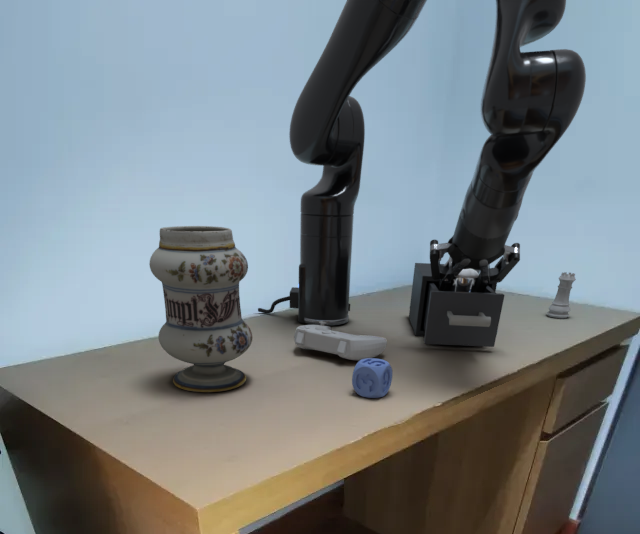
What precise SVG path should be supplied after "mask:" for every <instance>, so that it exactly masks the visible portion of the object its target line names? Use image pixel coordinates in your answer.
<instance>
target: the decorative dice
mask: <svg viewBox="0 0 640 534" xmlns="http://www.w3.org/2000/svg"><path fill="white" fill-rule="evenodd" d="M392 382H393V368H392V366H391V364H390V363H389V362H388V361H387V360H385V359H382V358H375V357H373V358H366V359H361V360H358V361H357V362H356V364H355V366H354V369H353V372H352V376H351V385H352V388H353V390H354V392H355V393H356V394H357V395H358V396H360V397H363V398H367V399H368V398H369V399H378V398H383V397H385V396H386V395H387V394H388V392H389V390H390V388H391V385H392Z"/></svg>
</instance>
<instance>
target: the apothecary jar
mask: <svg viewBox="0 0 640 534" xmlns="http://www.w3.org/2000/svg"><path fill="white" fill-rule="evenodd" d="M233 236H234V235H233V230H232V229H231V228H229V227H223V226H212V225H211V226H208V225H180V226H179V225H178V226H165V227H161V228H159V241H158V242H159V243H158V247H157V248H156V249H155V250H154V251H153V252H152V253H151V256H150V258H149V263H148V264H149V269H150V272H151V273H152V275H153V276H154V278H156V279H157V280H158V281H159V282H161V285H162V293H163V299H164V311H165V323H164V324H162V326H161V327H160V329H159V331H158V341H159V345H160V347H161V348H162V350H164V352H166V353H167V355H169V356H170V357H172V358H174V359H176V360H178V361H181V362H183V363H187V364H190V365H191V364H192V365H191V366H187V367H186V368H184V369H182V370H180V371H178V372H177V373H176V374H174V376H173V378H172V383H173V384H174V386H175V387H176V388H179V389H181V390H183V391H188V392H194V393H195V392H196V393H217V392H218V393H219V392H225V391H230V390H234V389H237V388H239V387H241V386H243V385H244V384H245V383H246V381H247V375H246V374H245V373H244V372H243V371H242V370H240V369H237V368H236V367H232V366H230V365H227V364H226V363H228V362H230V361H233V360H236V359H237V358H239V357H240V356H242V355H243V354H245V352H247V351H248V349H250V347H251V345H252V342H253V333H252V330H251V328H250V326H249V324H248V323H247V322H245V320H244V319H243V317H242V309H241V297H240V282H241V281H243V279H244V278H245V277H246V275H247V273H248V271H249V270H248V269H249V263H248V260H247V258H246V256H245V255H244V253H243V252H242V251H241V250H239V248H237V247H236V244H235V241H234V237H233Z"/></svg>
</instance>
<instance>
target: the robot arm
mask: <svg viewBox="0 0 640 534" xmlns="http://www.w3.org/2000/svg"><path fill="white" fill-rule="evenodd" d="M427 2H428V0H346V2H345V3H344V5H343V8H342V10H341V13H340V15H339V17H338V19H337V22H336V24H335V26H334V28H333V30H332V33H331V34H330V37H329V39H328V41H327V43H326V45H325V47H324V49H323V51H322V53H321V55H320V57H319V59H318V61H317V62H316V64H315V66H314V68H313V69H312V72H311V74H310V76H309V77H308V79H307V81H306V83H305V85H304V86H303V88H302V90H301V92H300V94H299V96H298V98H297V100H296V103H295V106H294V108H293V111H292V113H291V118H290V122H289V133H288V135H289V136H288V137H289V138H288V139H289V145H290V149H291V152H292V154H293V156H294V157H295V158H296V159H297V160H298V161H299V162H301V163H303V164H306V165H309V166H321V167H322V173H321V178H320V179H319V181H318V182H317V183H316V184H315V185H314V186H312V187H311V188H310V189H308V190H306V191H305V192H303V193H302V194H301V196H300V205H299V207H300V209H299V210H300V211H299V212H300V215H299V217H300V218H299V220H300V221H299V223H300V224H299V225H300V226H299V227H300V228H299V265H298V284H297V287H295V286H294V287H293V286H292V287H291V289H290V291H289V295H288V296H284V297H281V298H278V299H275V300H274V301H272V303H271V305H270V307H269V309H266V308H262V307H258V308H257V312H259V313H263V314H267V315H268V314H272V313H273V312H274V311H275V308H276V306H277V305H278V304H280V303H284V302H288V301H289V309H298V312H297V313H298V314H297V315H298V316H297V317H298V319H297V320H298V321H297V322H298V324H299V323H300V324H301V323H303V324H306V325H320V324H321V323H319V322H326V324H324V326H328V327H331V326H340V325H344V324H347V323H348V322H349V317H350V316H349V312H351V303H350V292H351V291H350V289H351V270H352V253H353V235H354V234H353V233H354V218H355V217H354V215H355V206H356V203H357V200H358V197H359V193H360V189H361V178H362V169H363V160H364V159H363V158H364V150H365V138H366V137H365V136H366V135H365V134H366V126H365V125H366V124H365V116H364V111H363V109H362V106H361V104H360V102H359V101H358V100H357V99H356V98H355V97H353V96H350V95H351V94H352V92H353V90H354V89H355V88H356V86H357V85H358V84H359V82H360V81H361V80H362V79H363V78H364V76H366V75H367V73H369V72H370V71H371V70H372V69H373V68H374V67H375V66H376V65H377V64H378V63H379V62H381V61H382V60H383V59H384V58H386V56H388V55H389V54H390V52H392V51H393V50H394V49H395V48H396V47H397V46H398V45H400V42H401V41H403V40H404V39H405V37H406V36H408V34H409V32H411V29H412V28H413V27H414V25H415V23H416V21H417V20H418V18H419V17H420V15H421V13H422V11H423V9H424V7H425V5H426V3H427ZM566 5H567V0H495V24H494V33H493V40H492V46H491V52H490V58H489V62H488V66H487V71H486V75H485V79H484V84H483V89H482V93H481V98H480V117H481V122H482V124H483V126H484V128H485V129H486V131H487V132H488V134H490V135H489V136H488V137H487V138H486V140H485V141H484V143H483V145H482V147H481V149H480V152H479V156H478V159H477V161H476V162H477V163H476V166H475V169H474V171H473V175H472V178H471V181H470V183H469V185H468V187H467V190H466V192H465V195H464V199H463V202H462V205H461V209H460V211H459V215H458V219H457V222H456V226H455V229H454V231H453V235H452V236H451V237H450V238H449V239H448V241H447V242H443V243H442V242H441V243H439V240H438V239H431V240H430V242H429V263H430V264H431V273H432V279H433V280H438V279H440V282H439V291H448V290H449V287H450V284H451V279H452V278H453V277H454V276H457V275H458V274H459V273H460V272H461V271H462V270H463V269H475V270H480V274H479V277H478V280H477V284H476V287H475V291H474V292H477V293H484V292H485V290H486V287H487V285H488V284H489V283H490V281H495V282H496V283H497V284H498V283H501V282H503V280H504V279H505V278H506V277H507V276H508V275H509V274H510V272H511V271H512V270H513V269H514V268H515V266H516V265H518V263H519V262H520V260H521V244H520V243H519V242H513V243H512V244H511V245H507V244H506V242H507V240H508V238H509V236H510V233H511V231H512V229H513V227H514V225H515V222H516V220H518V216H519V212H520V210H521V208H522V205H523V200H524V196H525V194H526V191H527V189H528V186H529V184H530V181H531V179H532V177H533V175H534V172H535V170H536V169H537V168H538V167H539V166H540V164H541V163H542V162H543V161H544V160H545V158H546V157H547V156H548V154H549V153H550V152H551V151H552V149H553V148H554V147H555V146H556V144H557V143H558V142H559V141H560V139H561V138H562V137H563V135H564V134H565V133H566V131H567V130H568V129H569V128H570V126H571V124H572V122H573V121H574V118H576V115H577V113H578V110H579V108H580V106H581V104H582V100H583V97H584V94H585V89H586V81H587V77H586V76H587V75H586V73H587V72H586V67H585V63H584V61H583V58H582V56H581V55H580V54H579V53H578V52H576V51H574V50H573V49H568V48H561V49H559V48H558V49H549V50H536V51H525V52H524V51H522V52H521V48H522V47H524V46H527V45H530V44H532V43H534V42H536V41H539V40H541V39H543V38H545V37H546V36H548V35H550V34H551V32H553V31H554V30H555V29H556V28H557V27H558V25H559V24H560V22H562V19H563V17H564V14H565V10H566ZM445 254H448V255H449V257H448V260H447V261H446V262H445V263H444V264H445V265H444V266H442V265H440V264H441V261H442V259H443V258H444V256H445ZM498 259H499V260H498ZM497 260H498V261H497ZM496 261H497V263H496V264H495V265H494V267H491V265H492V263H494V262H496ZM490 264H491V265H490Z"/></svg>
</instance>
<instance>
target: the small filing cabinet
mask: <svg viewBox="0 0 640 534" xmlns="http://www.w3.org/2000/svg"><path fill="white" fill-rule="evenodd" d="M440 265H442V266H444V265H445V263H440ZM474 270H475V269H474ZM475 271H477V272H478V274H479V272H480V270H475ZM427 281H435V282H440V279H438V280H433V279H432V273H431V264H430V262H429V263H426V262H425V263H424V262H415V263H414V269H413V278H412V286H411V295H410V303H409V310H408V311H409V312H408V318H409V321H410V324H411V327H412V331H413V333H414V336H415V337H425V331H424V328H423V326H422V323H421V322H422V315H423V307H424V299H425V291H426V283H427ZM497 285H498V283H496V282H495V281H490V283H489V284H488V286H489V287H490V288H491V289H492V290H493V291H495V292H496V291H497V287H498V286H497Z"/></svg>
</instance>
